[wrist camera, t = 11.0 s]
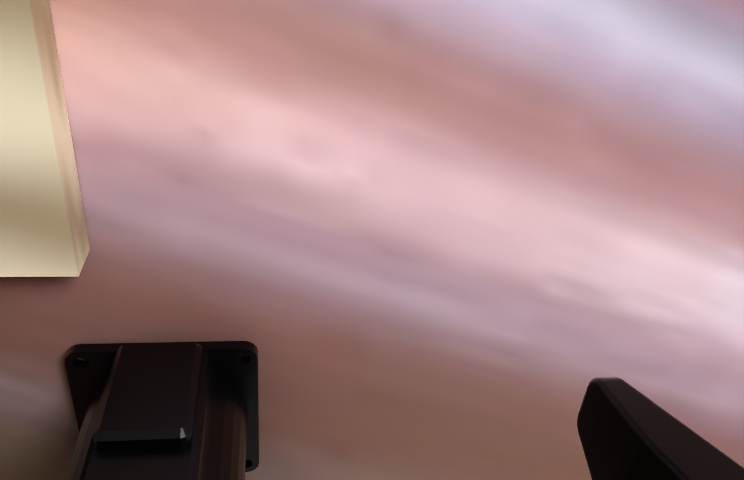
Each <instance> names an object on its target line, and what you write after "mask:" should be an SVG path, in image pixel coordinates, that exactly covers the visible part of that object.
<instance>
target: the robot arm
mask: <svg viewBox="0 0 744 480" xmlns="http://www.w3.org/2000/svg"><path fill="white" fill-rule="evenodd" d="M240 354H247V355H249V356H247V357H240V356H239V355H240ZM79 357H80V358H84V359H86V361H82V360H79V359H77V358H79ZM65 366H66V371H67V376H68V380H69V385H70V390H71V395H72V399H73V404H74V409H75V414H76V418H77V423H78V428H79V436H78V439H77V443H76V446H75V449H74V452H73V455H72V459H71V462H70V465H69V468H68V471H67V475H66V478H65V480H245V472H249V471H252V470H254V469H256V468H257V467H258V464H259V414H258V350H257V347H256V346H255V345H254V344H253V343H250V342H247V341H222V342H171V343H120V344H80V345H75V346H73V347H71V348H70V350H69V351H68V353H67V356H66V358H65ZM577 427H578V432H579V436H580V440H581V443H582V447H583V450H584V453H585V457H586V460H587V464H588V467H589V471H590V474H591V478H592V480H744V468H743V467H742V466H741V465H739V464H738V463H736V462H735V461H734V460H732V459H731V458H730V457H728V456H727V455H725V454H724V453H723V452H721V451H720V450H719V449H717V448H716V447H714V446H713V445H712V444H710V443H709V442H708V441H706V440H705V439H703V438H702V437H701V436H699V435H698V434H697V433H695V432H694V431H692V430H691V429H690V428H688V427H687V426H686V425H684V424H683V423H682V422H680V421H679V420H677V419H676V418H675V417H673V416H672V415H671V414H669V413H668V412H666V411H665V410H664V409H662V408H661V407H660V406H658V405H657V404H655V403H654V402H653V401H651V400H650V399H649V398H647V397H646V396H644V395H643V394H642V393H640V392H639V391H638V390H636V389H635V388H633V387H632V386H631V385H629V384H628V383H627V382H625V381H624V380H622V379H620V378H617V377H604V378H594V379H592V380H591V381H590V383H589V385H588V387H587V390H586V393H585V396H584V399H583V402H582V405H581V408H580V411H579V414H578V419H577ZM246 459H248V460H246Z"/></svg>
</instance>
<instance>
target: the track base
mask: <svg viewBox="0 0 744 480" xmlns="http://www.w3.org/2000/svg"><path fill="white" fill-rule="evenodd" d="M89 251H90V246H89V240H88V234H87V228H86V222H85V216H84V210H83V204H82V198H81V192H80V186H79V179H78V173H77V167H76V161H75V155H74V149H73V143H72V137H71V131H70V125H69V119H68V113H67V107H66V101H65V95H64V89H63V83H62V77H61V71H60V65H59V59H58V53H57V46H56V40H55V34H54V28H53V22H52V16H51V10H50V4H49V0H0V277H76V276H79V274H80V272H81V270H82V267H83V265H84V263H85V260H86V258H87V256H88V253H89Z"/></svg>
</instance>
